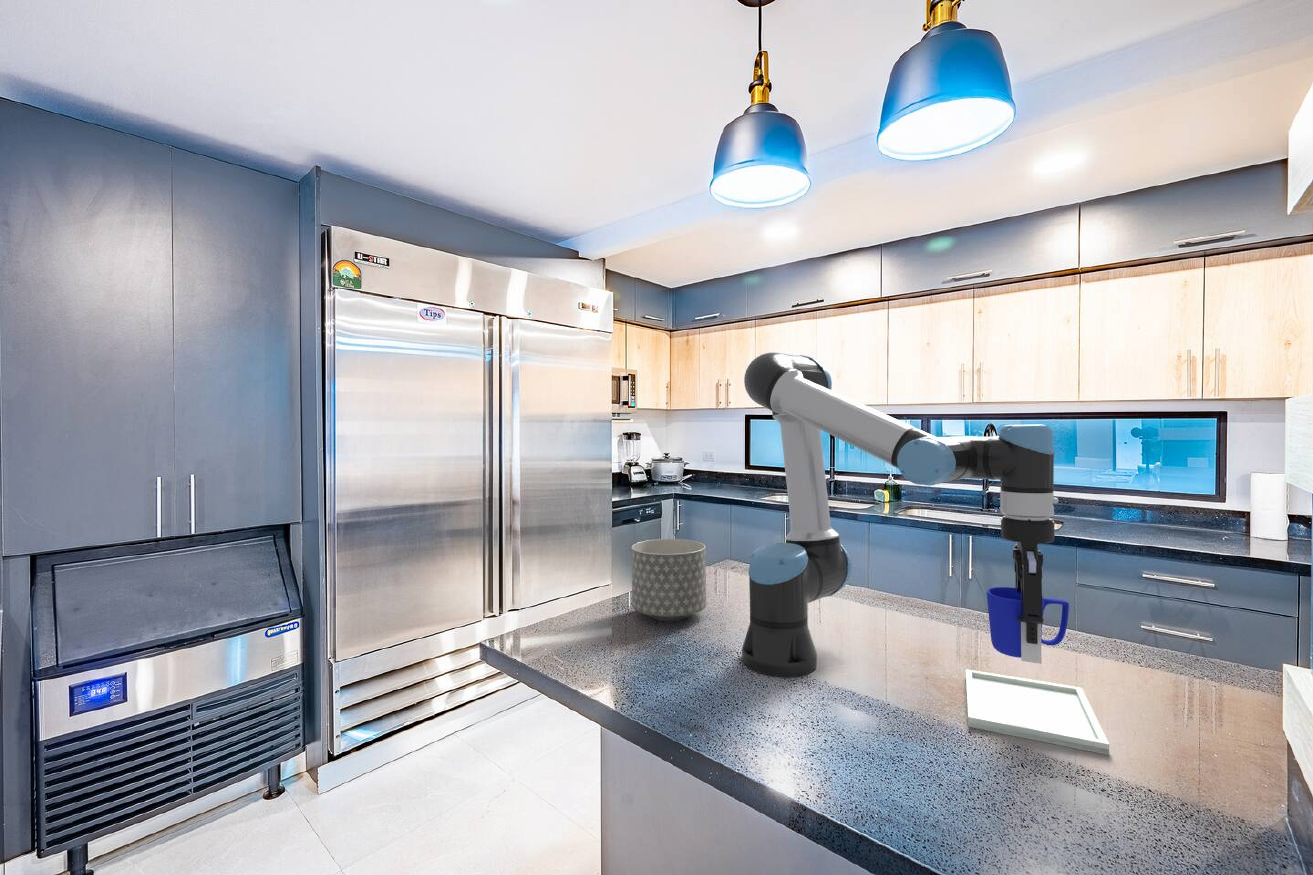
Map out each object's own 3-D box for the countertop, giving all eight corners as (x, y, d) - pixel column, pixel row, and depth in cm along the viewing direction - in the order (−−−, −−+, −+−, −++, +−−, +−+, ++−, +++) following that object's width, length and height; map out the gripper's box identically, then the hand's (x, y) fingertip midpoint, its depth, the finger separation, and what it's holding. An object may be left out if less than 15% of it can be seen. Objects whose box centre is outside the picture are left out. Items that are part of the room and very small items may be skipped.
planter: (639, 603, 158) (638, 538, 157) (708, 605, 155) (707, 539, 155) (626, 627, 139) (625, 553, 139) (704, 630, 136) (703, 554, 136)
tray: (968, 726, 91) (968, 716, 91) (965, 677, 109) (965, 669, 109) (1109, 754, 83) (1109, 744, 83) (1081, 696, 101) (1081, 687, 101)
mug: (1080, 665, 91) (1080, 603, 91) (997, 660, 93) (996, 599, 93) (1056, 646, 99) (1056, 588, 99) (980, 641, 101) (979, 585, 101)
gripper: (1064, 527, 85) (1066, 680, 85) (1045, 509, 102) (1046, 637, 103) (1005, 524, 88) (1007, 671, 89) (996, 507, 106) (998, 630, 106)
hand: (1028, 652), depth 96 cm, fingers closed on mug, 7 cm apart
